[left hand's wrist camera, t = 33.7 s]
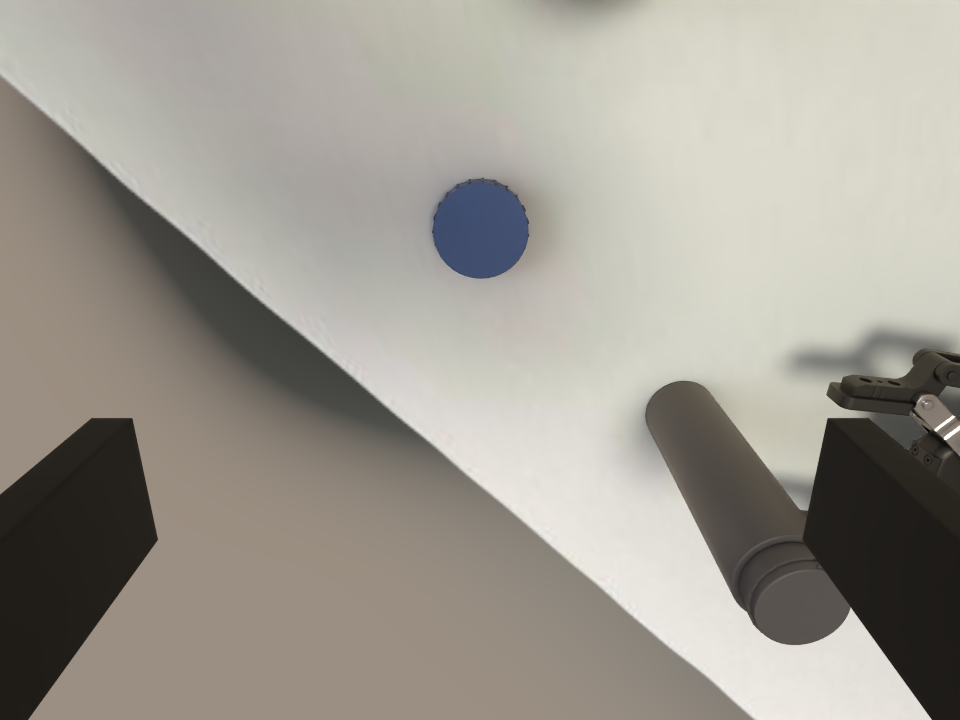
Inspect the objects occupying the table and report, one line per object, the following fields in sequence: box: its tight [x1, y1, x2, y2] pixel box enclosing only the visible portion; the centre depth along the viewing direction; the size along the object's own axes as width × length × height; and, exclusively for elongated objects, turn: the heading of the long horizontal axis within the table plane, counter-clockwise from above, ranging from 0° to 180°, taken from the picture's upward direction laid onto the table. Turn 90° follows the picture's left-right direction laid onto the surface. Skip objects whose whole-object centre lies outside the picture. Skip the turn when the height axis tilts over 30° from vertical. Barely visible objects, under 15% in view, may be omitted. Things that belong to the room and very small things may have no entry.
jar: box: [646, 381, 850, 645], centre depth 36 cm, size 5×5×18 cm
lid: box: [432, 178, 529, 278], centre depth 39 cm, size 6×6×2 cm
